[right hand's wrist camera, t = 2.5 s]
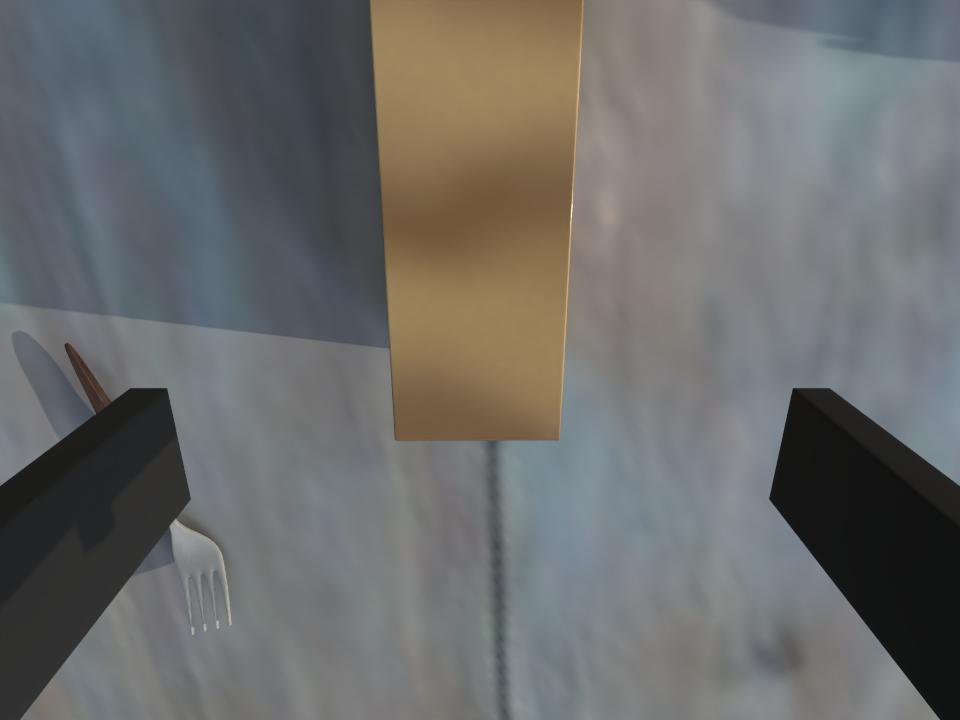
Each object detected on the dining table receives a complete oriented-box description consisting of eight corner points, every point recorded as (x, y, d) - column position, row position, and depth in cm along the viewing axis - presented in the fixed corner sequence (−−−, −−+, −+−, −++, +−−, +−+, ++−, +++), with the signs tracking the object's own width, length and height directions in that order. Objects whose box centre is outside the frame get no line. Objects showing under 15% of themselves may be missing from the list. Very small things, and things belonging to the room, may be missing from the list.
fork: (99, 331, 27) (71, 346, 25) (248, 596, 32) (234, 625, 30) (48, 347, 27) (16, 363, 25) (204, 607, 33) (188, 636, 31)
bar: (536, 352, 27) (560, 440, 20) (418, 352, 27) (394, 441, 20) (562, -374, 19) (624, -741, 11) (389, -374, 19) (324, -743, 11)
